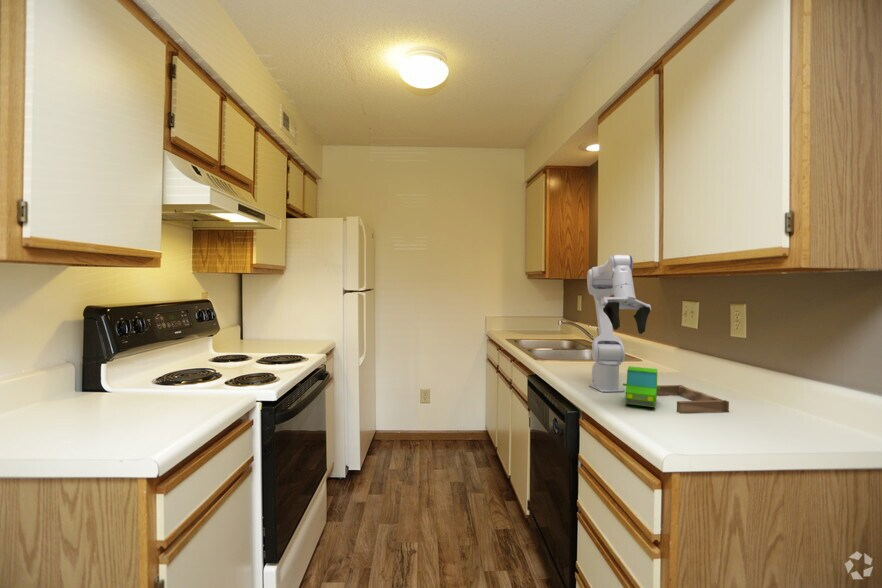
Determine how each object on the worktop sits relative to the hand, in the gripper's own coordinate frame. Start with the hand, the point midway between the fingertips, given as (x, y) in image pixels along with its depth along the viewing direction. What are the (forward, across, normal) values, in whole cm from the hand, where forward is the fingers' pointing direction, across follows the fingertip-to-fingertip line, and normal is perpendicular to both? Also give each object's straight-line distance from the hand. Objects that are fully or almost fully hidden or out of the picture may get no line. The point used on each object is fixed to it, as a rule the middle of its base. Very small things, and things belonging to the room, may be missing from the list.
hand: (629, 330), depth 123 cm
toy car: (+16, +11, +16) cm, 25 cm away
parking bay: (+13, +24, +16) cm, 31 cm away
